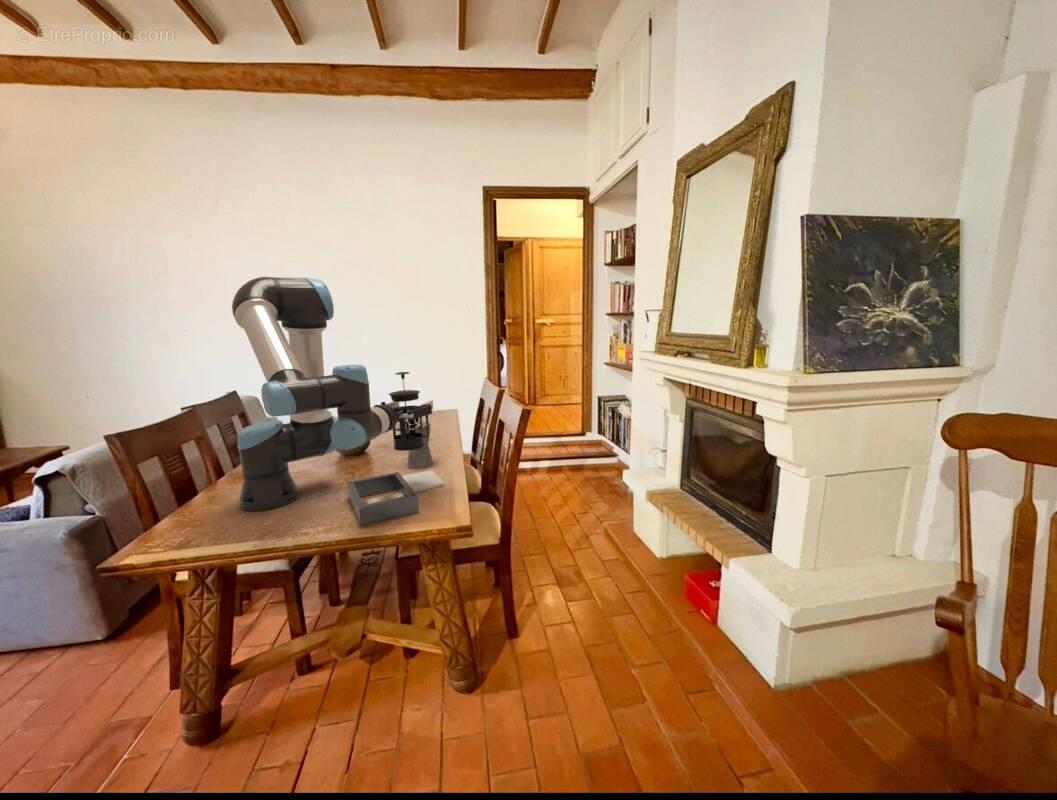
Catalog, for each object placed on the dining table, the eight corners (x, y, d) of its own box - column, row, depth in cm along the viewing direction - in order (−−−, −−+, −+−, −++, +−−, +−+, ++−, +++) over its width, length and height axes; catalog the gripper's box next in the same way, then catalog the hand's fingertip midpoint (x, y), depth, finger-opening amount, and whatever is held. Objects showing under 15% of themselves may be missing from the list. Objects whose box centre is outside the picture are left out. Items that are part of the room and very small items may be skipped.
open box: (360, 526, 113) (358, 508, 112) (348, 497, 132) (347, 481, 131) (418, 512, 120) (417, 495, 119) (399, 487, 139) (398, 472, 138)
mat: (409, 493, 133) (409, 490, 133) (398, 479, 145) (398, 476, 145) (444, 485, 139) (444, 482, 139) (431, 472, 151) (431, 470, 151)
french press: (386, 451, 131) (378, 374, 127) (397, 443, 140) (390, 371, 136) (425, 450, 130) (418, 373, 127) (434, 441, 140) (427, 369, 136)
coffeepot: (441, 465, 158) (438, 416, 155) (418, 472, 152) (414, 421, 149) (418, 456, 169) (415, 411, 166) (396, 462, 163) (392, 415, 159)
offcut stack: (368, 522, 115) (366, 505, 114) (365, 516, 119) (363, 499, 118) (410, 512, 120) (408, 496, 119) (406, 506, 124) (404, 490, 123)
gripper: (339, 433, 119) (382, 415, 140) (419, 435, 114) (450, 416, 135) (336, 406, 117) (379, 392, 138) (417, 407, 113) (449, 392, 134)
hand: (414, 404), depth 137 cm, fingers closed on french press, 11 cm apart
